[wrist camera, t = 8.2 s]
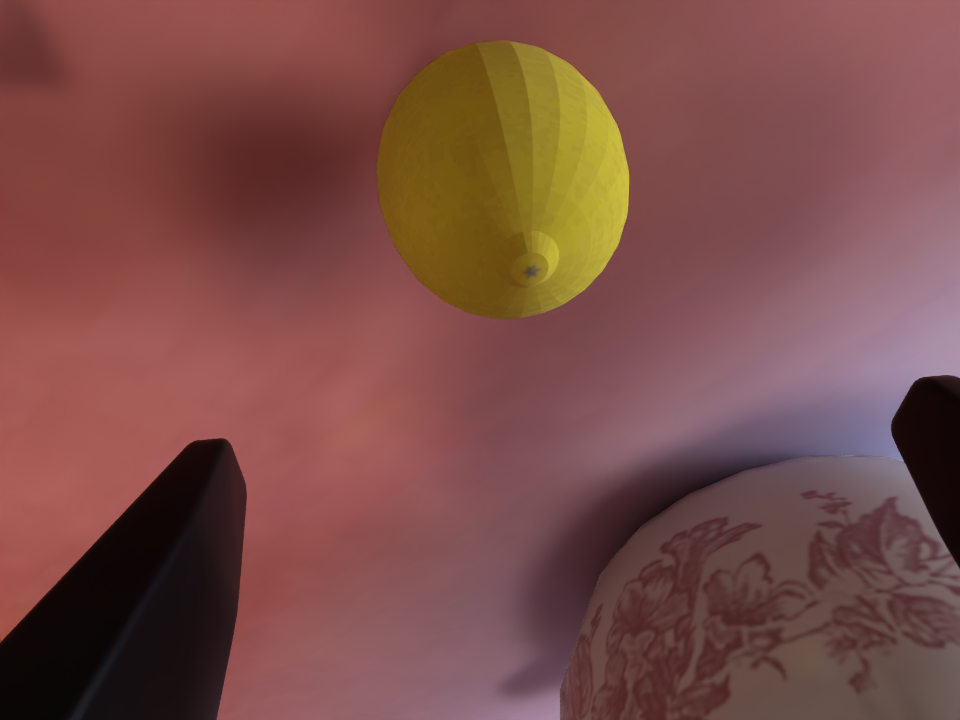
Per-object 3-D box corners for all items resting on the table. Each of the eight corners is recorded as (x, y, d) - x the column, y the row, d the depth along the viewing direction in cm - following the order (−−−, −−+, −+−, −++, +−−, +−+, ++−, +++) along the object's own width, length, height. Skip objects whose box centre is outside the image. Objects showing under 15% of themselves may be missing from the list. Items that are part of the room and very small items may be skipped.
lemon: (413, 232, 19) (426, 413, 13) (348, 41, 16) (325, 168, 10) (589, 184, 19) (686, 348, 13) (562, -22, 16) (679, 69, 9)
